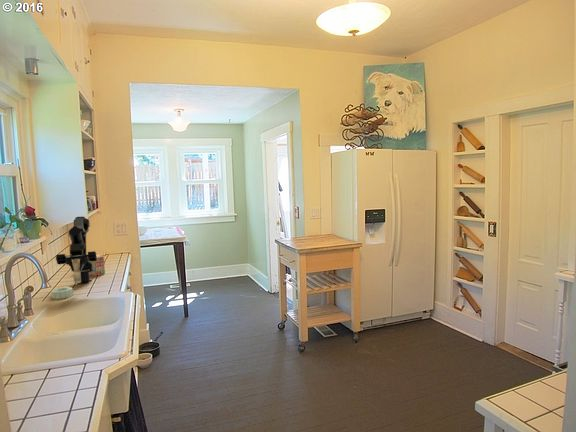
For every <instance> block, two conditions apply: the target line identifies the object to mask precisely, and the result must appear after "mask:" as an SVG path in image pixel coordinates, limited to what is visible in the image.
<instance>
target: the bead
mask: <svg viewBox="0 0 576 432" xmlns="http://www.w3.org/2000/svg"><path fill="white" fill-rule="evenodd" d="M73 289H74V288H73V287H71V286H70V287H69V286H65V287H60V288H55V289H52V290H51V298H52V299H55V300H58V299H59V300H60V299H61V300H62V299H67V298H69V297H72V296H73V295H74V290H73Z"/></svg>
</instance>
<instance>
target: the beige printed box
mask: <svg viewBox="0 0 576 432" xmlns="http://www.w3.org/2000/svg"><path fill="white" fill-rule="evenodd" d="M96 255H97V260H96V261H90V262H91V264H92V268H93V271H92V272H89V276H94V277H98V276H101V274H103V275H105V274H106V272H105V271H106V270H105V256H104V255H98V254H96ZM89 270H90V269H89ZM97 275H98V276H97Z"/></svg>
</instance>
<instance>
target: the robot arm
mask: <svg viewBox="0 0 576 432" xmlns="http://www.w3.org/2000/svg"><path fill="white" fill-rule="evenodd" d="M90 225H91V223H90V219H89V218H86V217H85V216H76V217H75V218H74V219H73V226H72V227H71V228H70V229H69V230H68V237H69V239H70V241H71V244H69V254H67V255H66V253H58V254H56V255H55V260H56V263H57V265H67V266H69V268H70V270H71V272H73V259H80V272H81V283H80V284H89V283H90V282H92V281H93V279H90V275H89V272H92V271H93V268H92V264H91V262H90V261H96V260H97V255H98V254H97V252H96V250H95V251H94V250H93V251H87V234H88V233H89V230H90V229H89V228H91V226H90ZM89 269H90V270H89ZM73 273H74V272H73ZM76 284H79V283H76Z"/></svg>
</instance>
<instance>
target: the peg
mask: <svg viewBox="0 0 576 432" xmlns="http://www.w3.org/2000/svg"><path fill="white" fill-rule="evenodd" d="M72 263H73V283H74V284H77V283H78V284H82V283H81V272H80V259H73V260H72Z"/></svg>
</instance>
